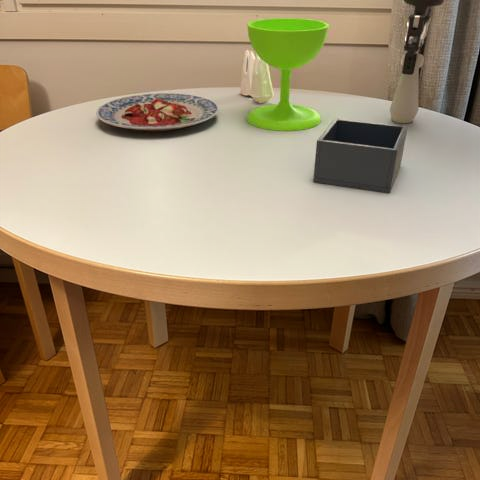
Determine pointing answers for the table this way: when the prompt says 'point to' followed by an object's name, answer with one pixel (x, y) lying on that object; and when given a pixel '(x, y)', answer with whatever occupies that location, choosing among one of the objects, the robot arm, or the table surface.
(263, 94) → the shaker set
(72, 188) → the table surface
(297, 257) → the table surface
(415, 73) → the salt shaker
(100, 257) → the table surface
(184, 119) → the ceramic plate
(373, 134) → the tub
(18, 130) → the table surface
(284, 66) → the wineglass
